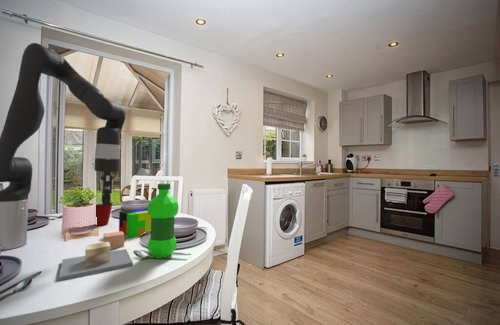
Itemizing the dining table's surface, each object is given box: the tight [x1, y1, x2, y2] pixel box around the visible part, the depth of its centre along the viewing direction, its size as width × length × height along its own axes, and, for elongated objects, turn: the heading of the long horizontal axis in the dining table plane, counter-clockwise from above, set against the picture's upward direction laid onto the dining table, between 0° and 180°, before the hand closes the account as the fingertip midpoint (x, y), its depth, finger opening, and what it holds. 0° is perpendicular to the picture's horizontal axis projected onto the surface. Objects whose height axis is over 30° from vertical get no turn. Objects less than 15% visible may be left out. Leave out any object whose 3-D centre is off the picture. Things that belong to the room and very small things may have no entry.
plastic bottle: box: [147, 183, 179, 259], centre depth 83 cm, size 10×10×25 cm
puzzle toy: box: [118, 208, 151, 239], centre depth 109 cm, size 10×10×10 cm
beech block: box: [84, 242, 111, 266], centre depth 75 cm, size 6×5×5 cm
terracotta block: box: [102, 231, 125, 250], centre depth 91 cm, size 6×5×5 cm
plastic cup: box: [94, 200, 114, 227], centre depth 122 cm, size 11×11×12 cm
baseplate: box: [58, 248, 134, 282], centre depth 75 cm, size 18×14×1 cm
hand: (105, 204), depth 83 cm, fingers open, 8 cm apart
